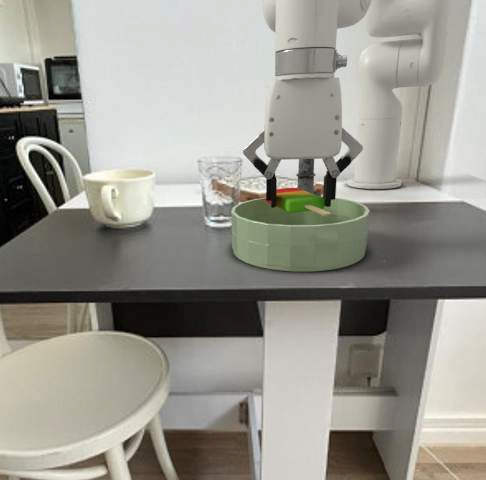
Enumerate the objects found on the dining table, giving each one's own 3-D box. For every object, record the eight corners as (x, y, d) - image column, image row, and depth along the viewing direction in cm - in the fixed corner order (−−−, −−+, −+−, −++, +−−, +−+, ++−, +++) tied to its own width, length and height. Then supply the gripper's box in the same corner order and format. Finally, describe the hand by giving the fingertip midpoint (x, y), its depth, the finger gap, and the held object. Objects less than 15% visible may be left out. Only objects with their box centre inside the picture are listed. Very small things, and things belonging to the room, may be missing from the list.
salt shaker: (319, 210, 86) (322, 147, 82) (321, 217, 81) (324, 150, 77) (289, 210, 87) (290, 147, 83) (288, 217, 82) (290, 151, 78)
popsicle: (295, 198, 70) (295, 186, 69) (346, 219, 57) (348, 205, 56) (263, 201, 69) (262, 189, 68) (308, 224, 55) (309, 209, 55)
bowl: (236, 231, 74) (236, 196, 72) (351, 230, 72) (354, 194, 70) (227, 271, 57) (226, 226, 55) (379, 272, 54) (384, 225, 52)
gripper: (368, 66, 58) (357, 199, 65) (238, 73, 60) (240, 201, 67) (382, 61, 51) (368, 210, 58) (234, 69, 54) (237, 212, 60)
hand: (299, 204), depth 62 cm, fingers closed on popsicle, 6 cm apart
